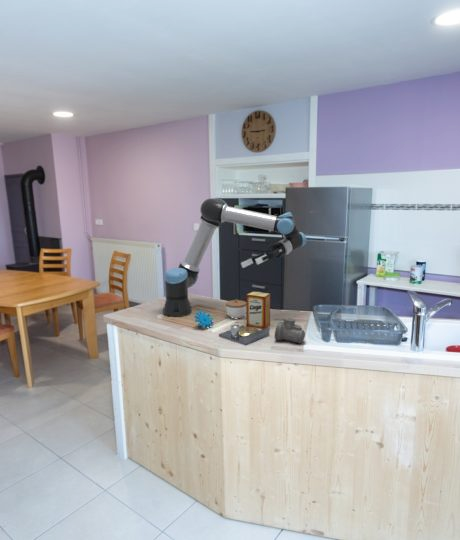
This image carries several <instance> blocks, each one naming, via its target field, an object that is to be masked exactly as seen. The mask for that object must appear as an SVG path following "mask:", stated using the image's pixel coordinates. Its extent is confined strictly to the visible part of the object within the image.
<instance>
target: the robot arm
mask: <svg viewBox="0 0 460 540" xmlns="http://www.w3.org/2000/svg"><path fill="white" fill-rule="evenodd" d="M200 214H201V215H200V221H201V222H200V224H199V226H198V229H197V231H196V233H195V236H194V238H193V241H192V243H191V244H190V247H189V249H188V252H187V254H186V257H185V258H184V259H183V260H181V261H180V263H179V265H178V267H175V268H170V269H167V271H165V276H164V281H165V282H164V283H165V302H164V306H163V310H162V311H163V312H162V313H163V315H164V314H166V315H169V316H168V317H171V316H179V317H184V316H183V315H186V316H188V315H187V314H189V315H191V314H192V313H193V311H192V306H191V304H190V300H189V291H188V289H189V288H190V287H193V286H194V285H195V284H196V283H197V281H198V278H199V277H198V276H199V273H200V271H201V269H200V265H201V262H202V260H203V258H204V255H205V253H206V251H207V250H208V247H209V244H210V242H211V240H212V238H213V236H214V233H215V232H216V229H218V228H220V227H221V225H222V223H225V222H227V223H232V224H237V225H242V226H247V227H252V228H255V229H256V228H257V229H262V230H266V231H270V232H275V233H279V234H282V235H284V238H283V239H281V240H279V241H276V242H275V243H273V244H272V245H271V247H270V249H267V250H266V251H264V252H262V253H259V254H257V255H254V256H253V257H249V258H248V259H246V260H244V261H241V262H240V265H241V268H242V269H244V268H246V267H248V266H250V265H254V263H256V265H260V264H262V263H265V262H266V261H269V260H271V259H274V258H276V259H277V258H278V259H279V258H281V257H284V256H285V255H289V254H290V253H292V252H294V251H296V250H298V249H301V248H302V247H303V246H305V245H306V244H307V242H308V240H307V236H306V235H305V233H303V232H301V231H299V230H298V227H297V224H296V221H295V219H294V215H293V214H292V212H290V211H288V212H286V213H283V214H280V215H278V216H277V215H272V214H268V213H263V212H260V211H259V212H258V211H253V210H248V209H244V208H238V207H235V206H234V207H233V206H229V205H228V204H227V203H226V201H225V200H223V199H222V198H218V197H213V198H212V197H211V198H207V199H205V200H204V201H203V202H202V203H201V205H200ZM190 313H191V314H190ZM166 315H165V316H166Z"/></svg>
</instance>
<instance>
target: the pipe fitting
mask: <svg viewBox="0 0 460 540" xmlns="http://www.w3.org/2000/svg"><path fill="white" fill-rule="evenodd" d="M295 323H296V319H295V318H292V317H289V316H288V317H287V316H285V317H283V321H281V320H280V321H278V322H277V323H276V327H275V330H274V339H275V340H277V341H282V340H285V341H290V342H292V343H293V342H294V343H295V344H302V343H303V342H304V340H305V337H306V332H305V329H303V328H302V326H301V325H297V324H295Z"/></svg>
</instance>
